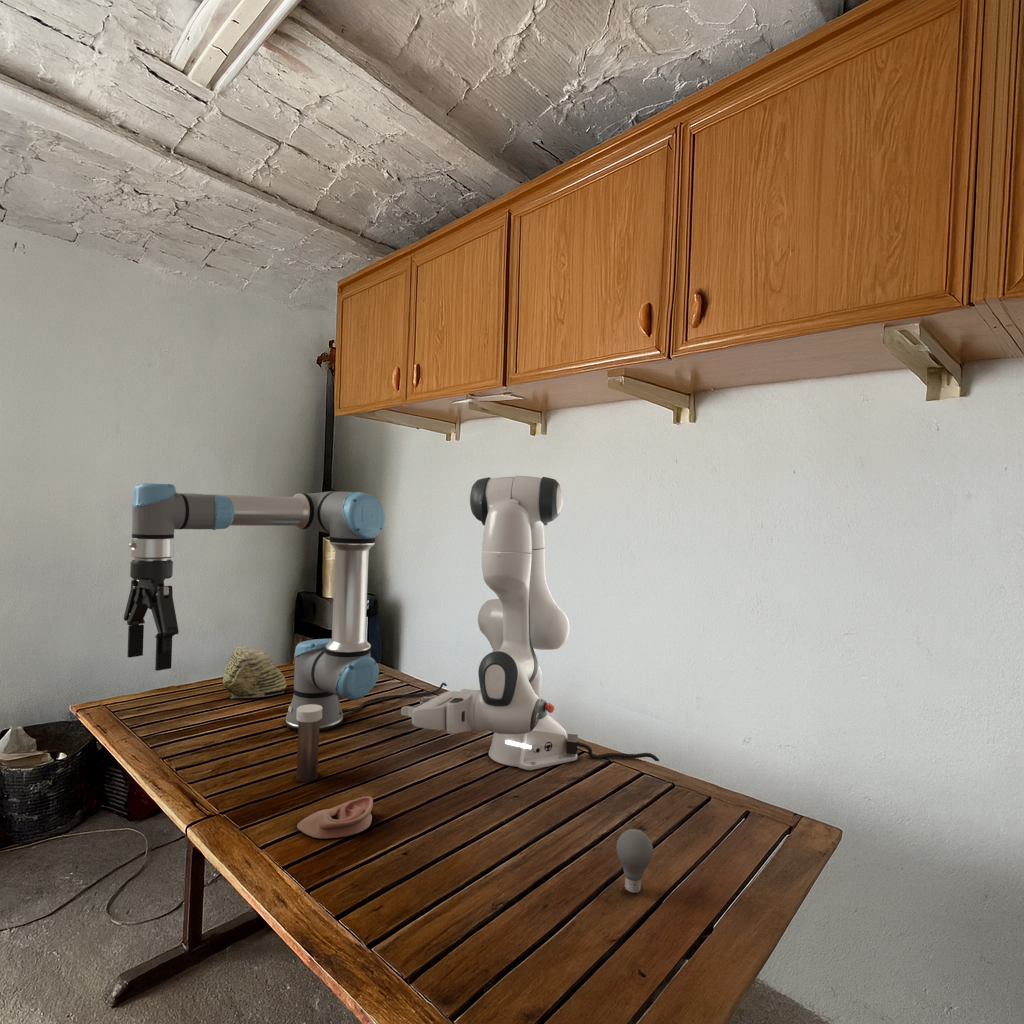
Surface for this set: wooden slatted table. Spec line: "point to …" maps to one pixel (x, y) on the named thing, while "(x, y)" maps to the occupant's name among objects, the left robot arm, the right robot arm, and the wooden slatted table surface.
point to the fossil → (252, 674)
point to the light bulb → (634, 857)
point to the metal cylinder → (307, 751)
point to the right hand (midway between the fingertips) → (412, 705)
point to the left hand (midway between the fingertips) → (148, 662)
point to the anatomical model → (339, 819)
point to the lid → (309, 713)
